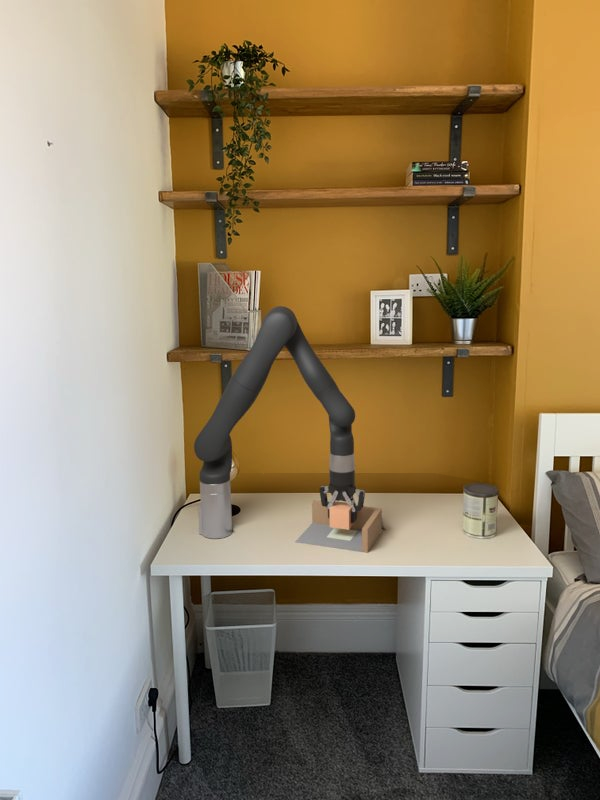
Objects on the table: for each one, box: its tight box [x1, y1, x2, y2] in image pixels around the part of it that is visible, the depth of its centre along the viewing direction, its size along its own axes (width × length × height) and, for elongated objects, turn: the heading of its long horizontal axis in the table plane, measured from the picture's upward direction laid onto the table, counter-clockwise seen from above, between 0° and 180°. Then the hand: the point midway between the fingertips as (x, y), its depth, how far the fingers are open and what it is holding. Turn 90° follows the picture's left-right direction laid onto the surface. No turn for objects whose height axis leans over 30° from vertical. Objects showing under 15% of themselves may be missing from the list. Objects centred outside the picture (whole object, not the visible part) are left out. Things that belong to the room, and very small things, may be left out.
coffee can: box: [461, 482, 500, 540], centre depth 189 cm, size 10×10×14 cm
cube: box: [330, 501, 354, 530], centre depth 187 cm, size 6×6×6 cm
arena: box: [294, 500, 383, 554], centre depth 186 cm, size 22×17×8 cm
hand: (342, 520), depth 187 cm, fingers closed on cube, 6 cm apart
